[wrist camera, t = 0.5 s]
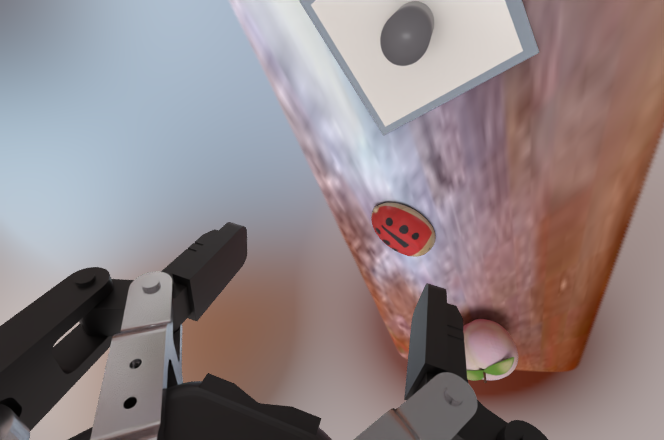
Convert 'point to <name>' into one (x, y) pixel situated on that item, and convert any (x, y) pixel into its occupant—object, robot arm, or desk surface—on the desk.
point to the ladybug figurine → (403, 229)
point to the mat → (529, 50)
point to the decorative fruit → (488, 350)
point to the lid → (417, 46)
